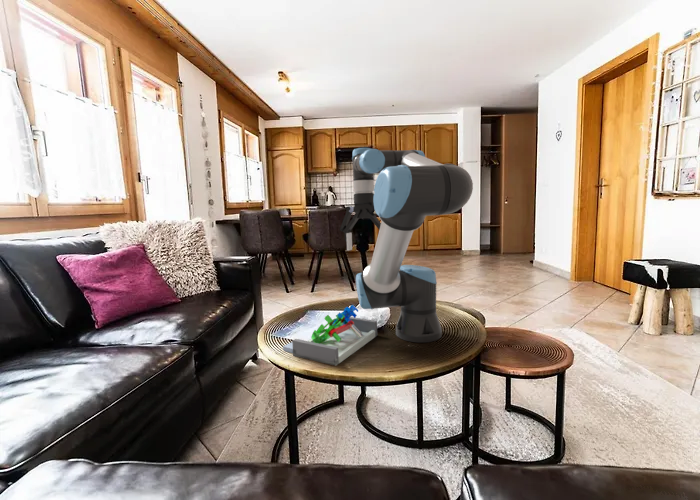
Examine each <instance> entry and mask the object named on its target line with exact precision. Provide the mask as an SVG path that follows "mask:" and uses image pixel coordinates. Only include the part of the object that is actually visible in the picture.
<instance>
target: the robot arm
mask: <svg viewBox="0 0 700 500" xmlns="http://www.w3.org/2000/svg"><path fill="white" fill-rule="evenodd" d="M351 160H352V161H351V162H352V179H353V181H352V186H353V189H352V190H353V192H354V193H353V206H351V205H349V206H346V211H345V212H346V213H345V215H344V216H343V220H342V222H341V225H340V227H339V231H340V232H343V234H344V241H345V242H346V251H352V250H353V234H352V233H353V232H351V230H352V229H353V228H354V226H355V225H356V223H357V222H358V220H359V219H370V220H371V222H372V223H373V224H374V225H375V227H376V228H377V230H378V235H377V239H376V243H375V247H374V250H373V254H372V257H371V262H370V263H369V264H368V265H367V266H366V267H365V268H364V270H363V272H359V273H357V274H356V275H355V285H356V293H357V298H358V302H359V306H360V308H361V309H364V310H377V309H385V308H395V307H400V314H399V317H398V320H397V322H396V326H395V335H396V337H397V338H399V339H401V340H403V341H407V342H410V343H431V342H435V341H439V340H440V339H441V338H442V336H443V332H442V329H443V328H442V326H441V322H440V320H439V317H438V314H437V283H438V282H437V275H436V274H437V273H436V271H435V270H434V269H432V268H431V267H428V266H423V265H422V266H421V265H414V264H404V265H403V261H404V258H405V255H406V253H407V250H408V247H409V244H410V242H411V239H412V237H413V233H414V231H417V230H418V229H419V228H420V227H422V225H423V224H424V221H425V220H426V217H427V216H442V215H443V216H444V215H450V214H453V213H455V212H458V211H459V210H461V209H462V208H463V207H464V206H465V205H466V204H468V202H469V200H470V198H471V197H472V194H473V190H474V187H473V185H474V183H473V180H472V176H471V174H470V173H469V172H468V171H467V170H466V169H464V167H461V166H458V165H455V164H454V163H444V164H443V163H441V162H438V161H436V160H433V159H432V158H431V159H430V158H429V157H426V155H425V153H424V151H422V150H420V149H419V150H416V149H409V150H406V149H404V150H403V149H401V150H399V149H398V150H394V149H393V150H391V149H390V150H388V149H387V150H386V149H382V150H379V149H377V148H371V147H358V148H354V149H353V150H352V157H351ZM375 174H377V178H376V180H375ZM353 213H354V215H353ZM352 215H353V216H352ZM377 216H378V217H379V218H378V217H377ZM351 217H352V218H351ZM350 219H351V220H350ZM379 219H380V220H379Z"/></svg>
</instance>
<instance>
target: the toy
mask: <svg viewBox="0 0 700 500" xmlns="http://www.w3.org/2000/svg"><path fill="white" fill-rule="evenodd" d="M355 311H356V312H358V313H359V309H358V308H357V307H356V306H355V305H354V304H351V305H350V306H349V307H348V306H346V307H344V309H343V311H341V312H339V313H337V314H336V315H335V318H333V319H332V317H331V316H330V315H329V314H328V315H326V316H324V320H325V321H326V322H327V323H326V324H325V325H324V324H323V323H321V324H320V326H318V327H317V329H314V330H313V332H312V334H311V338H310V339H312V340H313V342H314V343H319V344H320V343H322V342H324V341H326V340H327V339H329V338H330V337H334V338H335V339H336V340H337V342H339V341H341V338H340V337H339V335H338V334H340V333H342V332H344V331H346V330H348V329H351V330H352V332H353V333H354V334H355V335H356V336H357V337H358V338H359V339H360V338H361V337H363V336H364V335H363V334H362V333H361V332H360V331H359V330H358V329H357V328H356V327H355V326H354V322H353V321H352V320H350V319H349V318H350V317H354V318H357V314H356V312H355ZM343 324H345V325H343ZM327 326H328V328H327ZM324 332H325V333H324ZM322 333H324V334H322ZM320 334H322V335H321V336H319V335H320Z"/></svg>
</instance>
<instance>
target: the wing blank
mask: <svg viewBox="0 0 700 500" xmlns="http://www.w3.org/2000/svg"><path fill="white" fill-rule="evenodd" d="M298 339H299V340H302V338H301V339H300V338H298ZM303 340H304V339H303ZM304 341H306V340H304ZM282 350H284V352H287V353H291V354H293V344H292V341H291V342H290V343H287V344H285V345H283V346H282Z"/></svg>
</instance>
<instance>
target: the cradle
mask: <svg viewBox="0 0 700 500" xmlns="http://www.w3.org/2000/svg"><path fill="white" fill-rule="evenodd" d="M349 319H350V320H352V321H353V322H354V326H355V327H356V328H357V329H358V330H359V331H360V332H361V333H362V334H363V335H364V336H363V337H361V338H360V339H359V338H358V337H357V336H356V335H355V334H354V333H353V332H352V330H351V329H348V330H346V331H344V332H342V333H340V334H338V335H339V337H340V338H341V341H339V342H337V340H336V339H335V338H334V337H330V338H329V339H327V340H326V341H324V342H322V343H320V344H319V343H314V342H313V340H312V339H311V338H310V339H309V340H305V341H304V339H301V340H299V339H300V338H294V339H292V341H291V342H292V344H293V353H292V356H293V357H297V358H302V359H307V360H311V361H315V362H318V363H323V364H327V365H330V366H331V365H332V366H335V367H336V366H338V365H339V364H341V363H342V362H343V361H344V360H346V359H347V358H348V357H350V356H351V355H353V354H355V353H356V352H357V351H358V350H361V348H362V347H364V346H365V345H366V344H368V343H369V342H370V341H372V340H373V339H375V338H376V337H377V336H378V321H377V320H375V319H374V320H373V319H368V318H360V317H355V318H354V317H353V316H351V317H350V318H349ZM343 325H345V324H343ZM324 333H325V332H324ZM324 333H322V334H324ZM322 334H320V335H319V336H321V335H322Z"/></svg>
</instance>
